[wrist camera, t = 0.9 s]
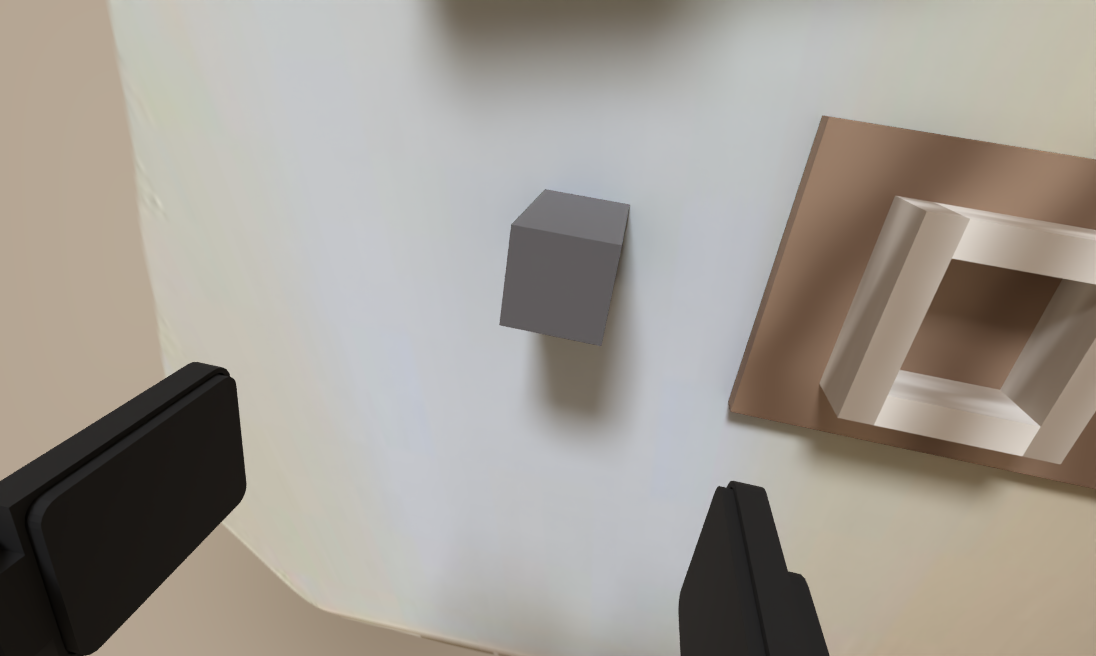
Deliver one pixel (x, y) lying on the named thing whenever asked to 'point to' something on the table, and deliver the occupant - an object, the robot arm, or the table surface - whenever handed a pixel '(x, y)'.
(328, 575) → the table surface
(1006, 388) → the board
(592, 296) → the charger brick
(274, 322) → the table surface
